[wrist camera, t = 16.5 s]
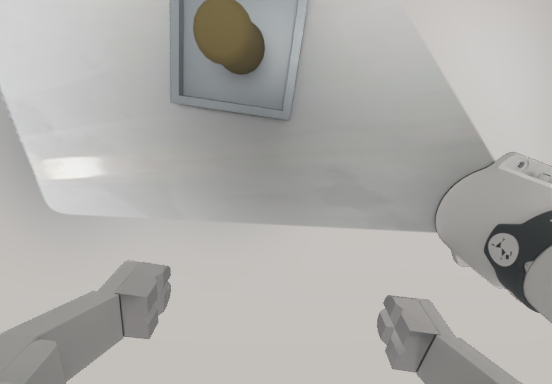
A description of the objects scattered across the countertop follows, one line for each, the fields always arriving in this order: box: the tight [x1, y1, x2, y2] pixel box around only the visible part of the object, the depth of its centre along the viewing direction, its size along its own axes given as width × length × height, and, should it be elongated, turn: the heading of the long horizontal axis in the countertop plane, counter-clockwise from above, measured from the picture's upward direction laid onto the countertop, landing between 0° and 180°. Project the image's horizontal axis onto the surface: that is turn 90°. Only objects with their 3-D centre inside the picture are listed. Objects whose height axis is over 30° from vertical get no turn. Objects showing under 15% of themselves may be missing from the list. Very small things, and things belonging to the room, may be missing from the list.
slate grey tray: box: [170, 0, 308, 120], centre depth 31 cm, size 15×15×2 cm
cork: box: [193, 0, 265, 75], centre depth 27 cm, size 6×6×11 cm
